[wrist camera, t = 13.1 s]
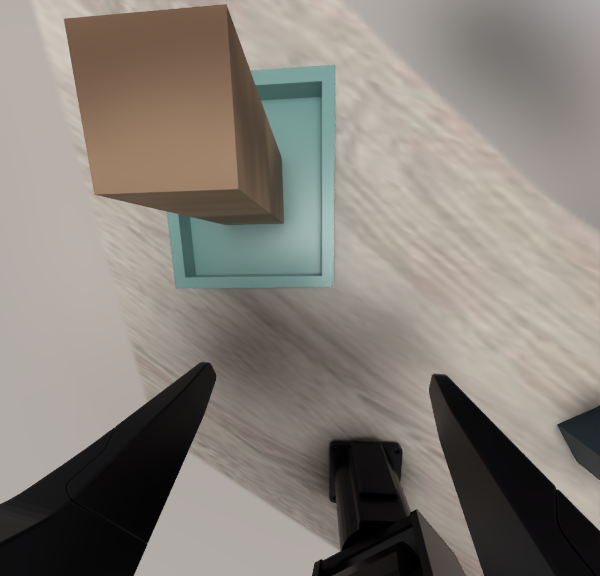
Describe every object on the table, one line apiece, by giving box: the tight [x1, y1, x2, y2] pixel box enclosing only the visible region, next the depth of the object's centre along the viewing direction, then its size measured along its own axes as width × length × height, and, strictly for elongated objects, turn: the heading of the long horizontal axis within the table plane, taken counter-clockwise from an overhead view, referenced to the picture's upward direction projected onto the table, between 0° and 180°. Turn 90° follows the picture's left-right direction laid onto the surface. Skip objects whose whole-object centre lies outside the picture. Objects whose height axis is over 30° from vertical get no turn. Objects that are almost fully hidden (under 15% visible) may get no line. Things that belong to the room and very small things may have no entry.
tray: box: [167, 65, 335, 288], centre depth 16 cm, size 14×12×2 cm
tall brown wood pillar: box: [64, 4, 284, 225], centre depth 12 cm, size 4×4×10 cm
